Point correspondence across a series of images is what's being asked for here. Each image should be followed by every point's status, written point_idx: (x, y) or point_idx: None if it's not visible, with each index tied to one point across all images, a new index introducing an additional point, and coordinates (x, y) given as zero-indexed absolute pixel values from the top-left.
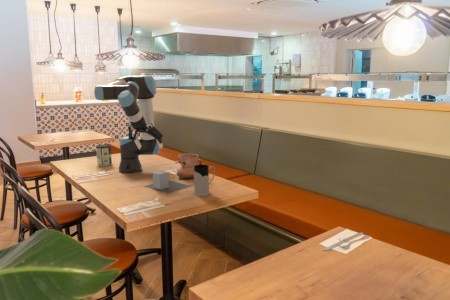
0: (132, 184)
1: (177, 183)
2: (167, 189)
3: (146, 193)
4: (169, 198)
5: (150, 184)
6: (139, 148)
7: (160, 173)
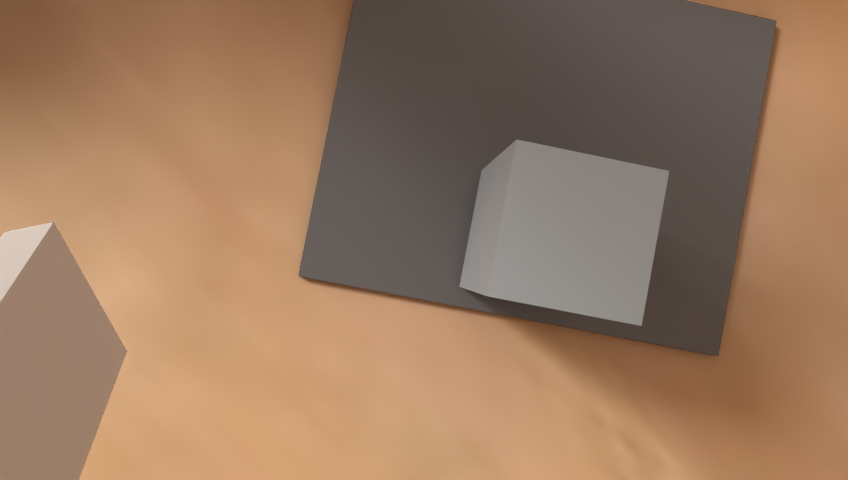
0: (109, 250)
1: (572, 7)
2: None
3: (494, 444)
4: (804, 461)
5: (323, 178)
6: (117, 373)
7: (611, 272)
